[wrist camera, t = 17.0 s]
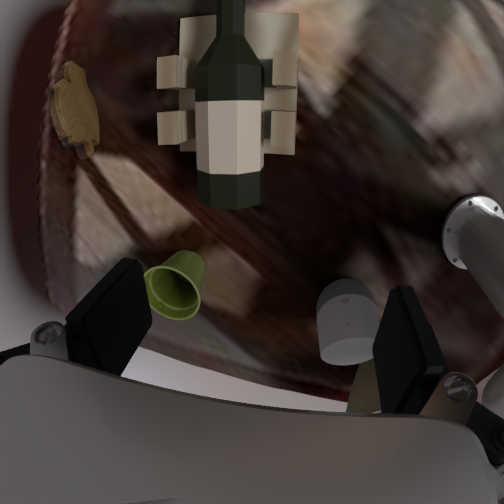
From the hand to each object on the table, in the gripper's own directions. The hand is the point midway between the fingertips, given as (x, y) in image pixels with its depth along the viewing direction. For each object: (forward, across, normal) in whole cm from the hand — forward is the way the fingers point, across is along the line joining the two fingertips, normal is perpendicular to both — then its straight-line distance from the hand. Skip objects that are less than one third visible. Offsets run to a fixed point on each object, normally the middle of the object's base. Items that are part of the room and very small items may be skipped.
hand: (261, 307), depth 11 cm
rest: (+33, +8, -10) cm, 36 cm away
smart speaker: (+34, -10, +22) cm, 41 cm away
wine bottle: (+28, +8, +6) cm, 30 cm away
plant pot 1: (+34, +16, +19) cm, 42 cm away
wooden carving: (+34, +32, -8) cm, 47 cm away
